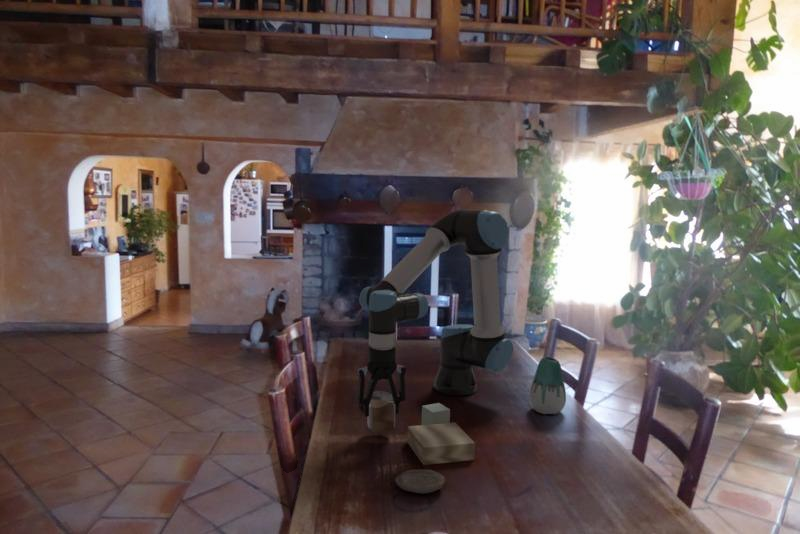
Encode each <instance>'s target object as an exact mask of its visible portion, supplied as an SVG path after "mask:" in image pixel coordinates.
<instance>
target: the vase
mask: <svg viewBox="0 0 800 534" xmlns="http://www.w3.org/2000/svg"><path fill="white" fill-rule="evenodd" d="M528 401H529V404H530V406H531V408H532V409H533V411H535V412H537V413H538V412H539V413H538V414H541V413H542V414H541V415H546V414H554V415H557V414H559V413H561V412H562V411H563V409H564V408H565V406H566V403H567V393H566V385H565V382H564V378H563V370H562V365H561V363H560V362H559V360H558V359H556V358H554V357H551V356H543V357H541V359H540V360H539V362H538V364H537V367H536V369H535V373H534V376H533V379H532V382H531V385H530V388H529V393H528Z"/></svg>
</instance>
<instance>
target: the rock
mask: <svg viewBox="0 0 800 534" xmlns="http://www.w3.org/2000/svg"><path fill="white" fill-rule="evenodd" d="M365 395H366V393H364V396H365ZM397 395H398V396H399V394H397ZM379 399H390V401H394V400H393V397H392V394H391V392H387V391H384V390H374V392H373V395H372V398H371V400H379Z"/></svg>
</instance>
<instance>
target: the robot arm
mask: <svg viewBox="0 0 800 534" xmlns="http://www.w3.org/2000/svg"><path fill="white" fill-rule="evenodd" d="M508 239H509V227H508V223H507V220H506V219H505V217H504V216H503V215H502V214H501V213H500V212H497V211H492V210H488V209H485V210H484V209H463V208H462V209H456V210H453V211H451V212H449V213H447V214H445V215H443V216H441V217H440V218H439V219H438V220H436V221H435V222H434V223H433V224H432V225H431V226H430V227H428V229H427V230H426V231H425V236H424V237H423V238H422V239H420V241H419V242H418V243H417V244H416V245H415V246H414V247H412V249H411V250H410V251H409V252H408V253H407V254H406V255H405V256H404V257H403V258H402V259H401V260H400V261H399V262H398V263H397V264H396V265H395V266H394V267H393V268H392V269H391V270H390V271H389V272H388V273H387V274H386V275H385V276H384V277H383V278H381V280H380V281H379V282H378V283H377V284H376V285H375V286H372V285H371V286H366V287H365V288H363V289H362V290H361V291H360V294H359V299H358V301H359V302H358V303H359V305H360V307H361V308H362V309H363V310H364V311H367V312H368V346H369V347H368V363H367V364H366V366H364V367H358V368H357V373H358V385H357V402H358V404H359V405H363V414H364V416H365V417H366V420H367V421H366V422H367V423H366V425H367V427H368V429H372V406H371V404H370V401H371V398H372V395H373V392H374V391H375V389H376V385H377V383H378V382H379V381H381V380H386V381H387V384H388V387H389V390H390V394H391V395H392V397H393V400H394V401H391V402H392V404H393V405H394V428H395V427H396V415H398V414H399V413H400V412H399V411H400V410H399V409H400V404H401V402H405V400H406V382H405V375H406V372H407V367H405V366H404V365H403V364H397V362H396V359H397V358H396V357H397V355H396V353H397V351H396V350H397V348H396V345H397V341H396V340H397V324H398V323H399V324H400V323H404V322H409V321H417V320H419V319H421V318H423V317H425V316H426V315H427V313H428V312H429V301H428V299H427V297H426V296H425V295H424V294H423V293H421V292H416V293H415V292H411V293H404V292H406V290H407V289H408V288H409V287H410V286H411V285H412V284H413V283H414V282H415V281H416V280H417V279H418V278H419V277H420V276H421V275H422V274H423V273H424V271H425V270H426V269H427V268H428V267H430V265H431V264H433V262H434V260H436V259H437V258H438V257H439V256H440V254H442V253H443V252H447V251H449V250H450V248H451V247H453V246H457V245H461V246H464V250H465V254H466V256H468V257H469V258H470V273H471V274H470V275H471V290H472V291H471V292H472V306H473V321H474V322H473V324H474V325H473V324H463V323H462V324H461V323H460V324H450V325H445V326H444V327H442V329H441V334H440V349H439V350H440V355H439V368H438V370H437V372H436V373H437V374H436V376H435V379H434V382H433V389H435V391H436V392H439V393H441V394H445V395H451V396H467V395H472V394H474V393H476V391H477V385H478V384H477V381H476V377H475V372H474V370H473V367H476V368H479V369H484V370H486V371H487V372H488V371H489V372H490V371H492V372H495V373H499V372H501V371H504V369H506V368H507V366H508V365H510V364H509V363H510V362H511V360H512V357H513V354H514V353H513V352H514V345H513V342H512V340H511V339H509V338H506V329H505V328H504V327H502V325H501V314H500V313H501V312H500V293H499V275H498V274H499V272H498V271H499V270H498V268H499V267H498V256H499V255H500V254H501V253H502V248H503V247H504V246H505V245H506V244H507V242H508ZM367 372H369V374H370V379H369V380H370V381H369V383H368V386H367V390H366V393H365V385H366V384H365V382H366V377H365V376H366V375H367ZM395 372H397V377H398V378H397V379H398V392H397V390H396V386H395V383H394V380H393V374H394V373H395ZM365 394H366V395H365ZM398 395H399V396H398Z"/></svg>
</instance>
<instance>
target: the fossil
mask: <svg viewBox="0 0 800 534" xmlns="http://www.w3.org/2000/svg"><path fill="white" fill-rule="evenodd" d="M445 480H446V479H445V476H444V475H442V474H441V473H439V472H437V471H435V470H432V469H410V470H406V471H403V472H402V473H400V474H399V475H398V476H396V477H395V483H396V485H397V486H398V488H400V489H402V490H403V491H405V492H410V493H416V494H430V493H434V492H436V491H438V490H441V489H442V488H443V487H444V484H445V482H446V481H445Z"/></svg>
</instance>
